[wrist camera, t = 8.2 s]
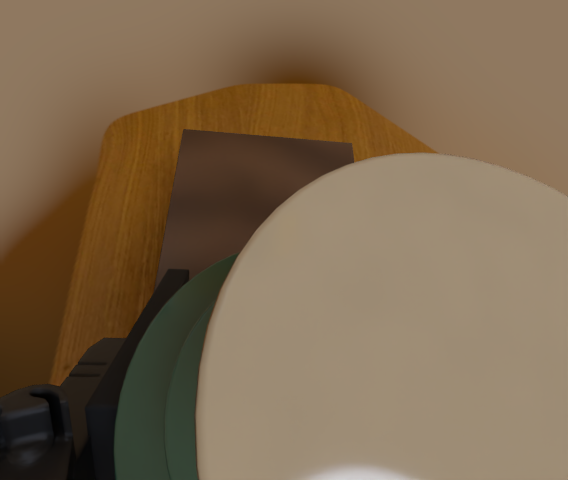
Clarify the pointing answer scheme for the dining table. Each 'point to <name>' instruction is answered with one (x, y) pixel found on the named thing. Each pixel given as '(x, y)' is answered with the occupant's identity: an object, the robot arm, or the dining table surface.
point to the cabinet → (235, 191)
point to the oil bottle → (367, 337)
